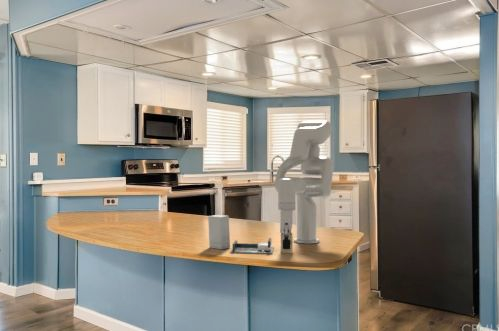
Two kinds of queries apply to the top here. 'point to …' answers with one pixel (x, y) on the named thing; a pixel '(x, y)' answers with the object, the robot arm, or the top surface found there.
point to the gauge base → (249, 248)
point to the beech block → (290, 244)
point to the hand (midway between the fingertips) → (286, 247)
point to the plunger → (265, 246)
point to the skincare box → (219, 231)
